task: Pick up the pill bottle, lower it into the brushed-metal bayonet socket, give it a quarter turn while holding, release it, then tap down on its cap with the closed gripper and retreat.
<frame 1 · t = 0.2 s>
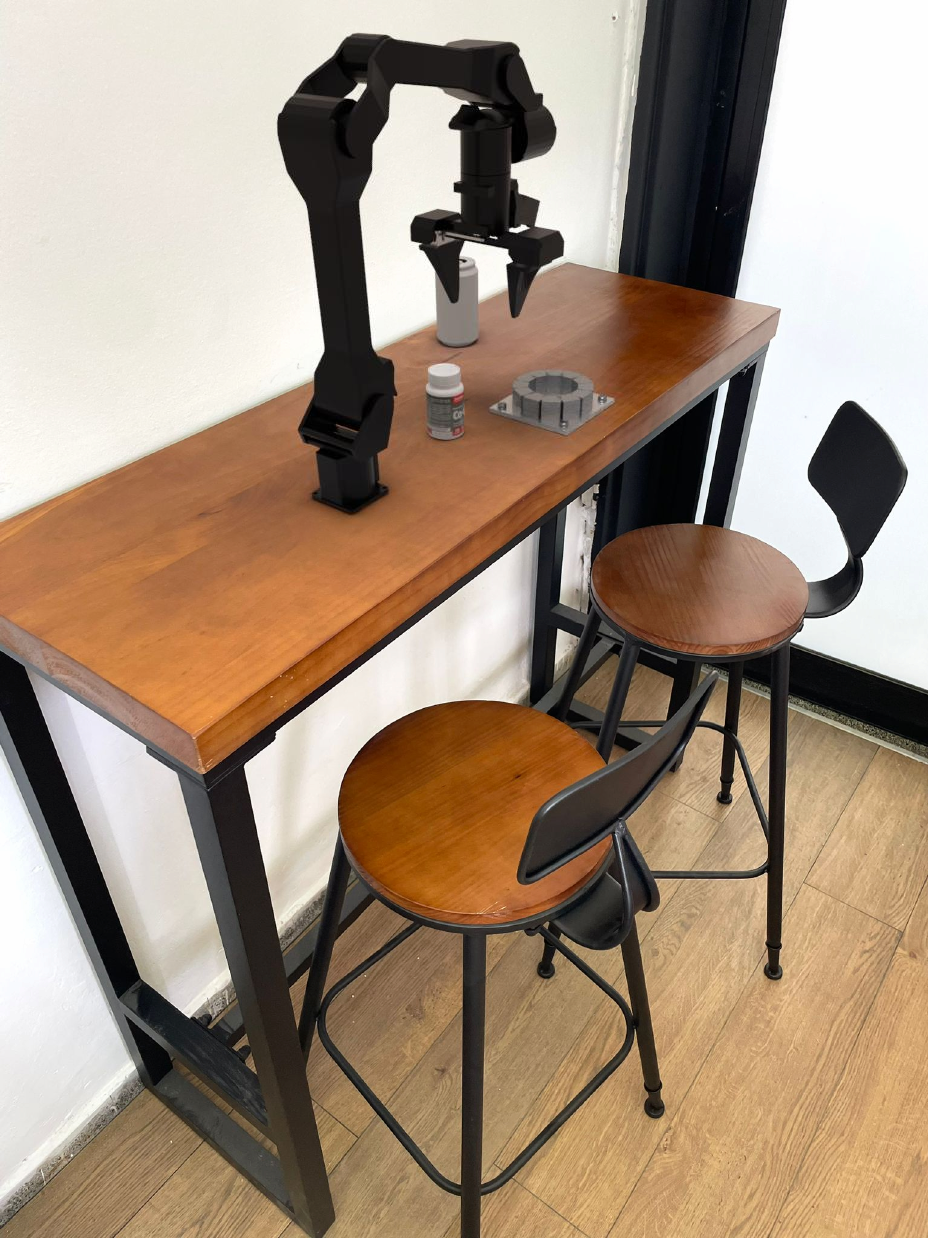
hand: (484, 309, 113), 14 cm above the table, fingers open, 9 cm apart
pill bottle: (446, 433, 118), on the table
socket: (552, 407, 123), on the table
beverage can: (457, 341, 143), on the table
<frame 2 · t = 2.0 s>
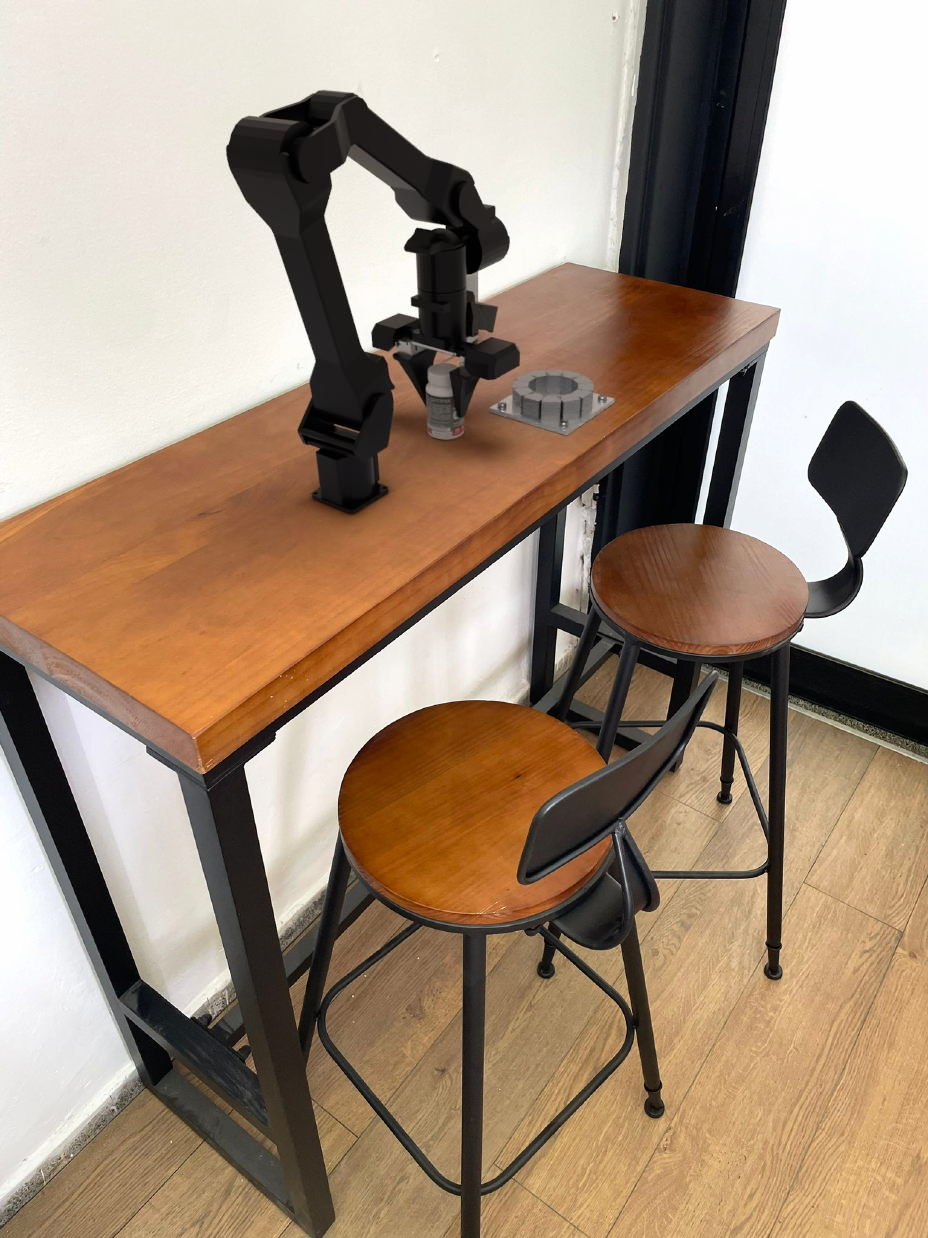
hand: (445, 411, 116), 3 cm above the table, fingers closed on pill bottle, 5 cm apart
pill bottle: (446, 433, 118), on the table, touching gripper
everything else where it was.
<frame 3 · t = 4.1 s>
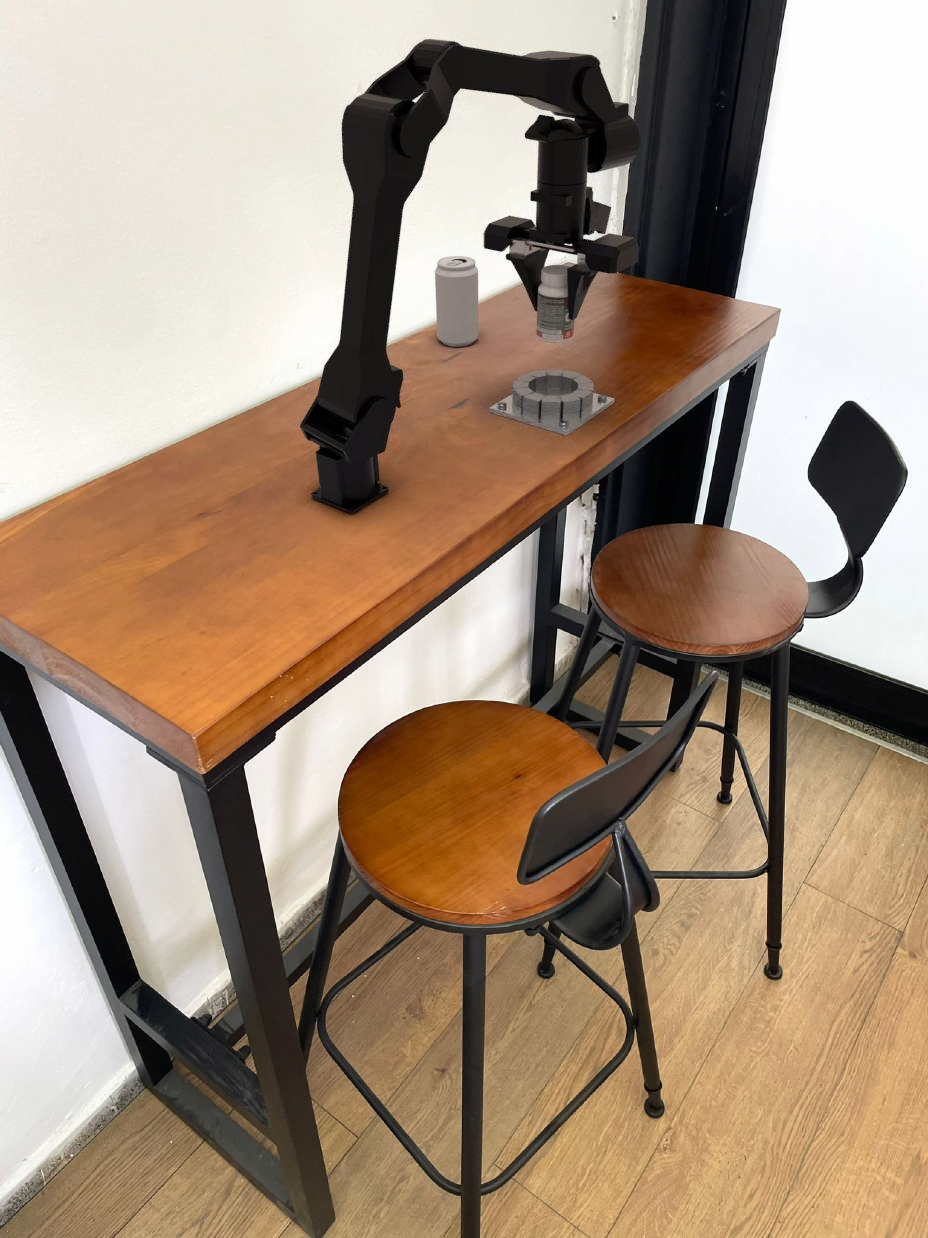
hand: (555, 314, 115), 12 cm above the table, fingers closed on pill bottle, 5 cm apart
pill bottle: (554, 338, 117), point 9 cm above the table, touching gripper
everything else where it was.
when the fingers open (4 cm above the table, at t = 6.3 s): pill bottle stays where it is, resting on socket.
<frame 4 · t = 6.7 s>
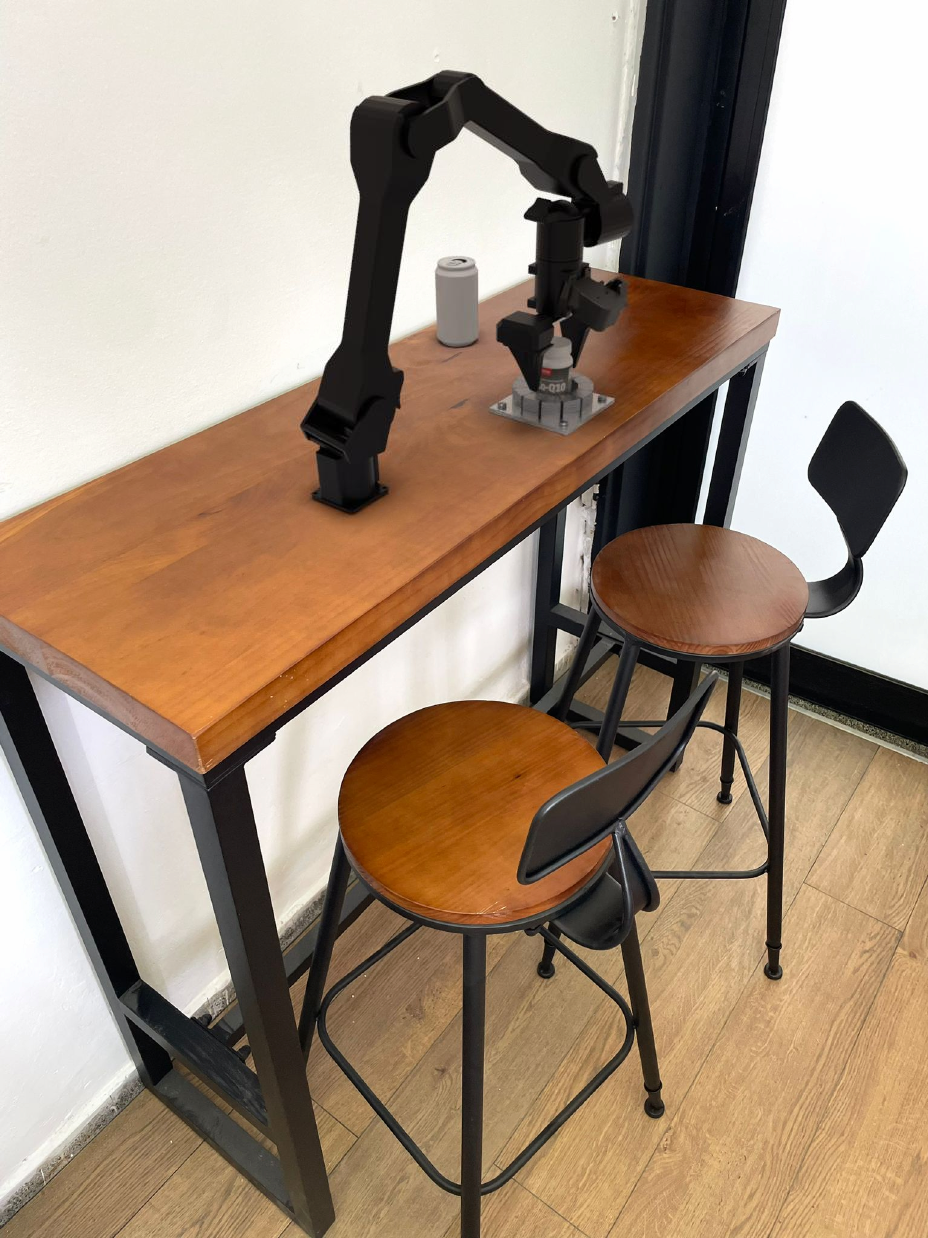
hand: (553, 378, 120), 4 cm above the table, fingers open, 9 cm apart
pill bottle: (552, 404, 123), resting on socket
everything else where it was.
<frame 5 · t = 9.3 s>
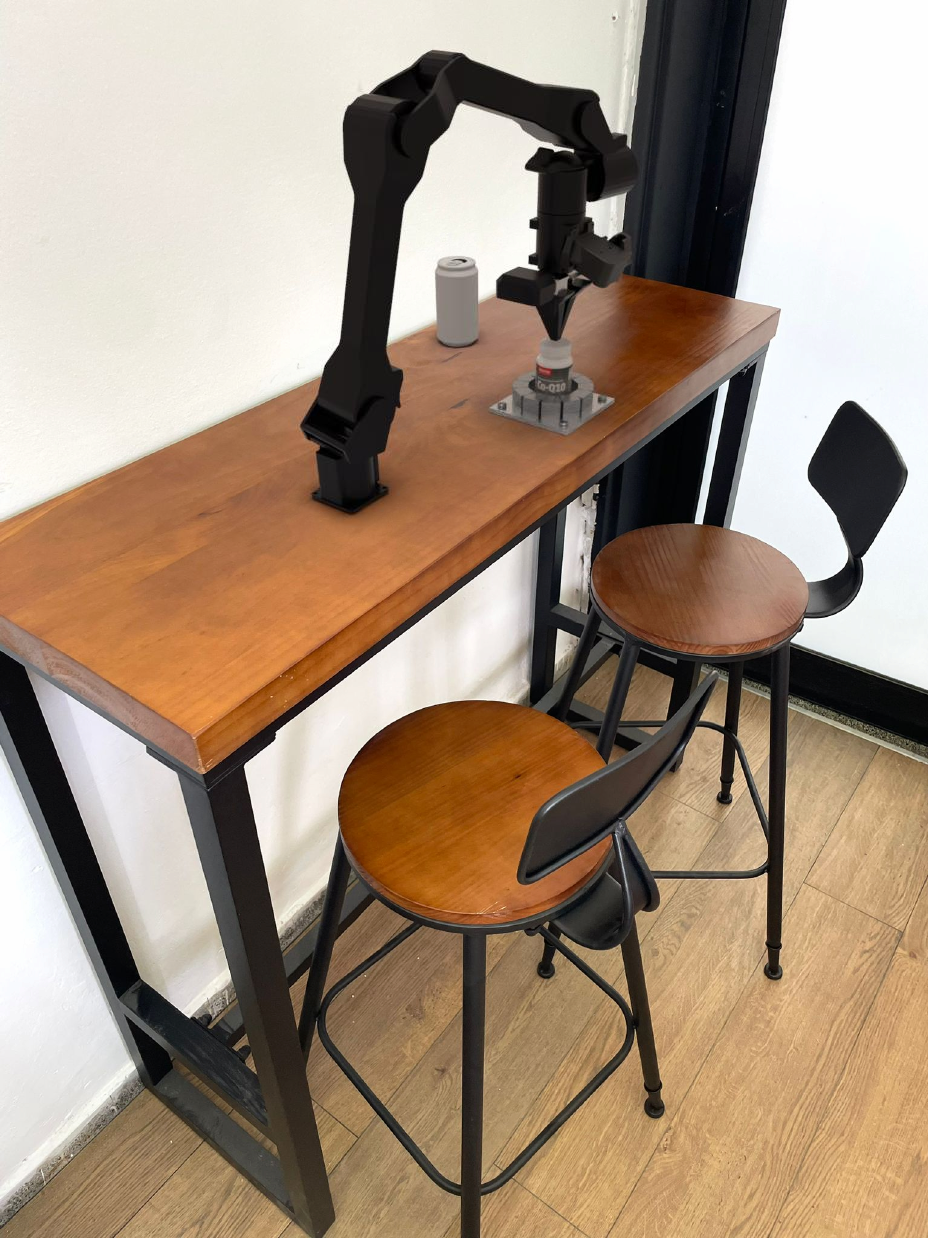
hand: (555, 339, 117), 9 cm above the table, fingers closed
nothing on the table moved.
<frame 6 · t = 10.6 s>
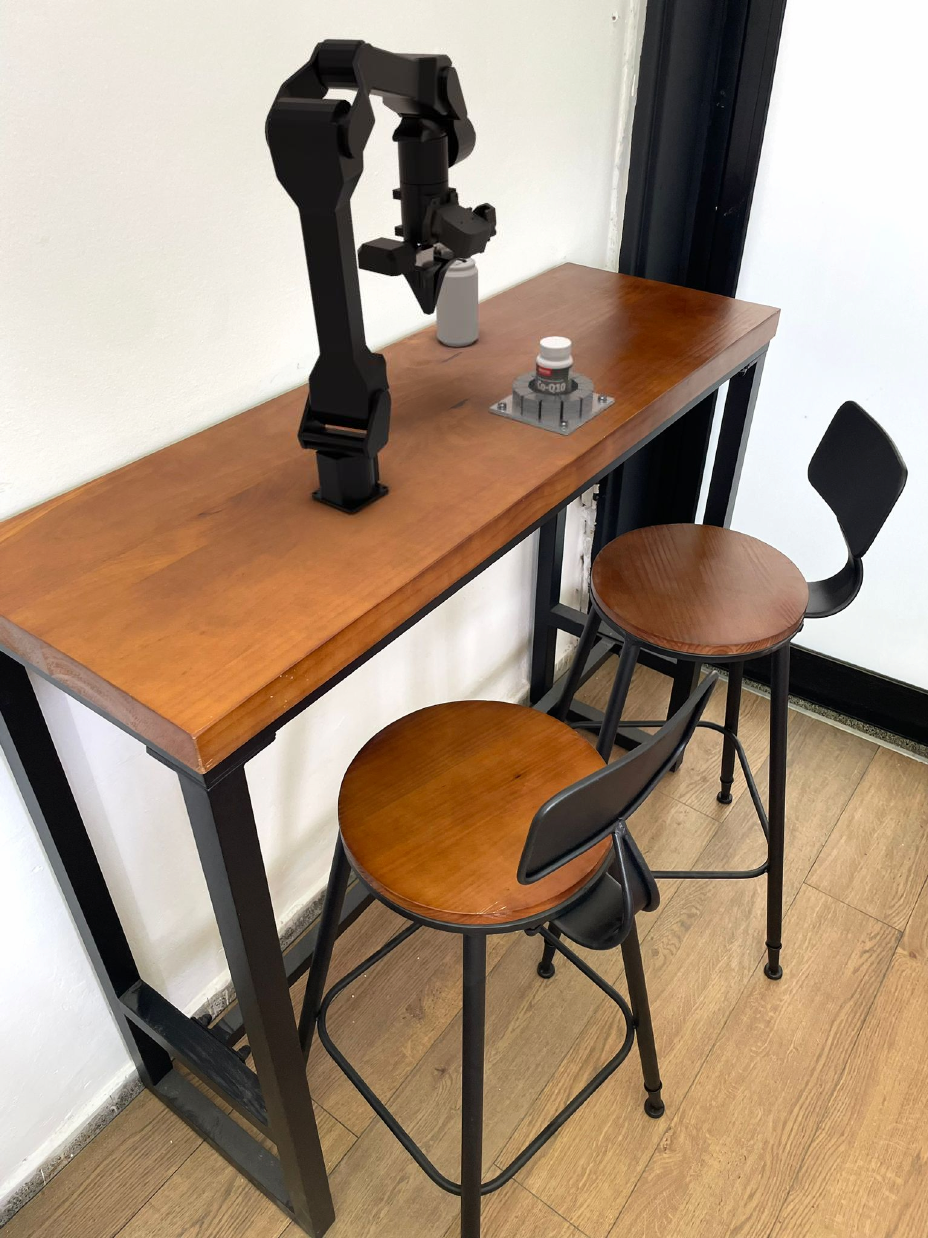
hand: (428, 313, 116), 12 cm above the table, fingers closed
nothing on the table moved.
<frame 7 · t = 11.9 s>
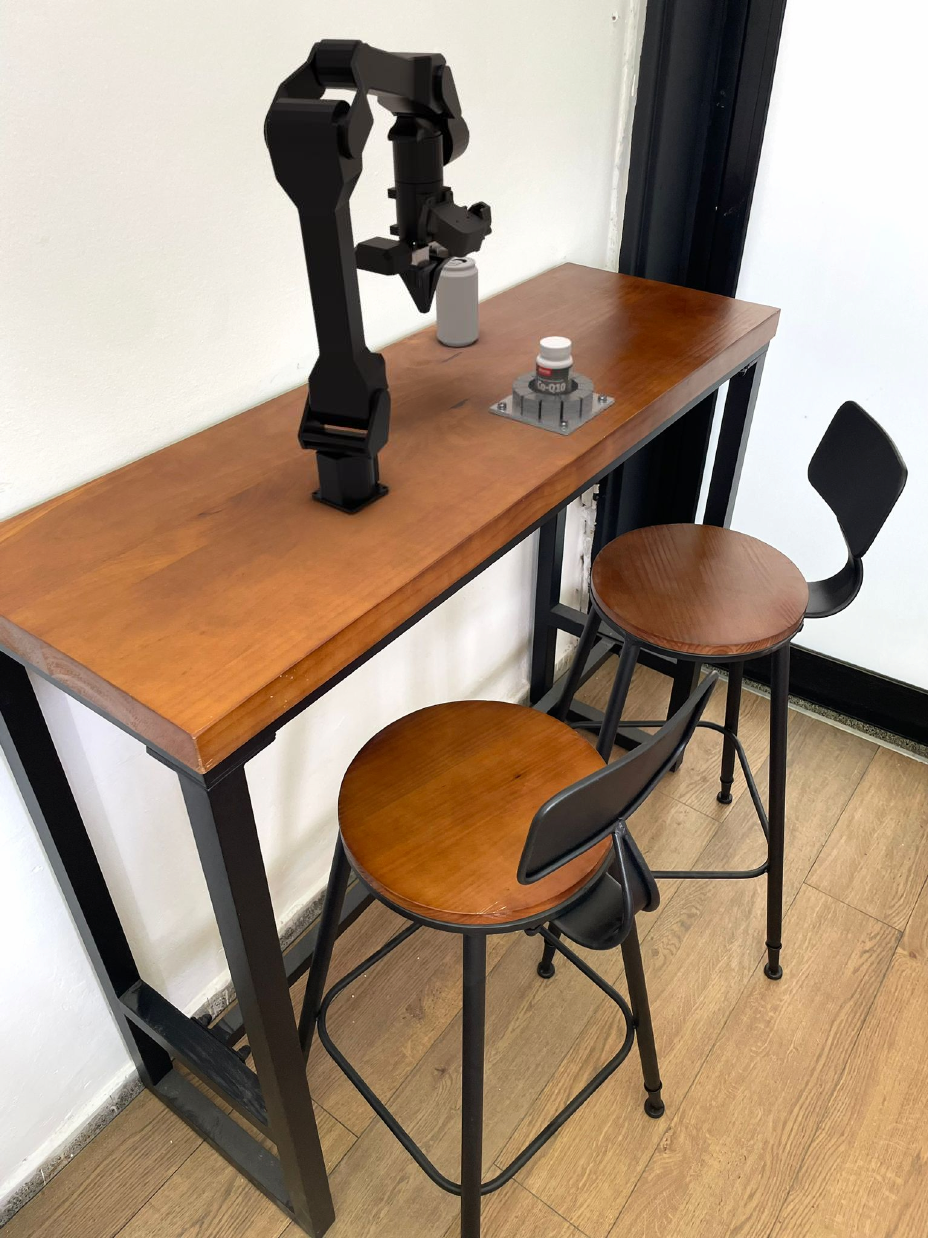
hand: (424, 312, 116), 13 cm above the table, fingers closed
nothing on the table moved.
at the end: pill bottle 0.1 cm off-centre on the socket, point 0.4 cm above the socket's base; pill bottle tilted 0°; the gripper is holding nothing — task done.
